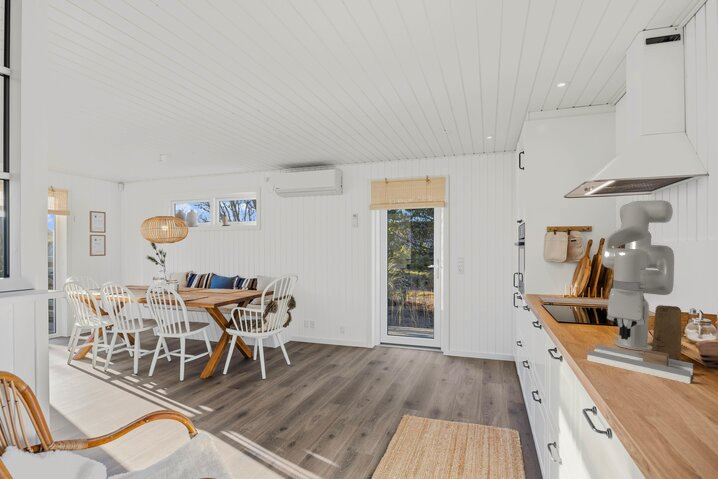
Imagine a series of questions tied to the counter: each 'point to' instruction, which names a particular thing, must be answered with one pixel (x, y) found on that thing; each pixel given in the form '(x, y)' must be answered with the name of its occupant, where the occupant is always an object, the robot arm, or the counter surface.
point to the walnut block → (656, 357)
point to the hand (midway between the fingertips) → (624, 338)
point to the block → (667, 331)
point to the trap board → (641, 363)
